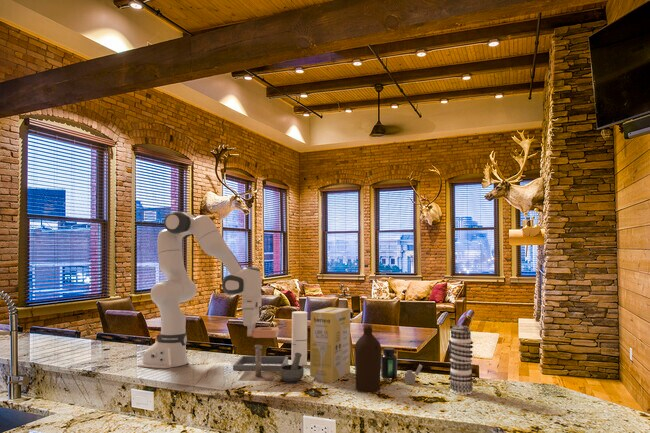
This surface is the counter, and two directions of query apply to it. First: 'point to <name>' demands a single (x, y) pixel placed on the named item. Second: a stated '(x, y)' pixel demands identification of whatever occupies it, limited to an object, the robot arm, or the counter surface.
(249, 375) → the stake stand
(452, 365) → the grey banded cylinder
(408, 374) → the lighter
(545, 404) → the counter surface
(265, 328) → the ring
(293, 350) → the cylindrical container
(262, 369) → the tray
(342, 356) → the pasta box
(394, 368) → the supplement bottle
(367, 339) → the olive oil
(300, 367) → the mortar and pestle
